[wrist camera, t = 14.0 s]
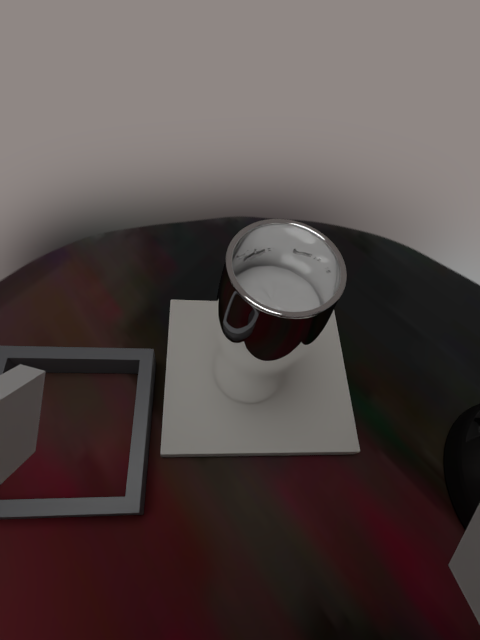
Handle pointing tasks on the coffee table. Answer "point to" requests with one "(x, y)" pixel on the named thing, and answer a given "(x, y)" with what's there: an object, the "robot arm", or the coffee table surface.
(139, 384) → the holder
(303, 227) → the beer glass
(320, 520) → the coffee table surface
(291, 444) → the board
